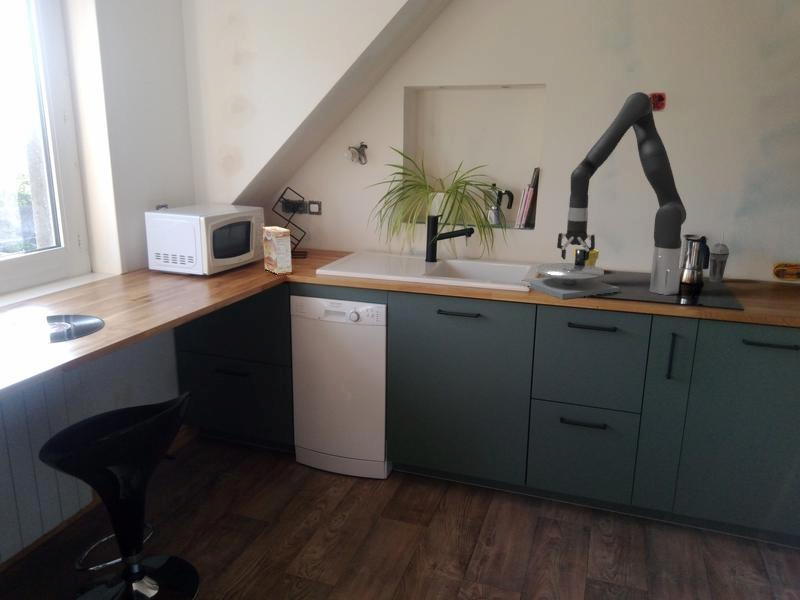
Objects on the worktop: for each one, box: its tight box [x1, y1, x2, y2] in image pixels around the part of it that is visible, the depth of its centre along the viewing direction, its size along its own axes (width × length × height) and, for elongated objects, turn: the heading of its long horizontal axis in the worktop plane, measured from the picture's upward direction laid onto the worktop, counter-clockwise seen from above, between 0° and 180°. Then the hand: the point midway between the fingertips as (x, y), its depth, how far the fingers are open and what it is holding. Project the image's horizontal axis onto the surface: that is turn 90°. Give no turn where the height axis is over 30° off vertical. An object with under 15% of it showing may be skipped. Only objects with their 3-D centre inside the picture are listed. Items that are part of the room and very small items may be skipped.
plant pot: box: [573, 248, 600, 266], centre depth 264 cm, size 10×10×10 cm
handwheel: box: [536, 248, 605, 280], centre depth 232 cm, size 25×25×8 cm
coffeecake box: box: [262, 225, 293, 274], centre depth 264 cm, size 15×7×20 cm, turn 33°
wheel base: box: [520, 276, 620, 300], centre depth 234 cm, size 26×26×6 cm
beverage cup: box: [708, 231, 730, 283], centre depth 245 cm, size 7×7×20 cm
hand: (574, 259), depth 241 cm, fingers open, 8 cm apart
